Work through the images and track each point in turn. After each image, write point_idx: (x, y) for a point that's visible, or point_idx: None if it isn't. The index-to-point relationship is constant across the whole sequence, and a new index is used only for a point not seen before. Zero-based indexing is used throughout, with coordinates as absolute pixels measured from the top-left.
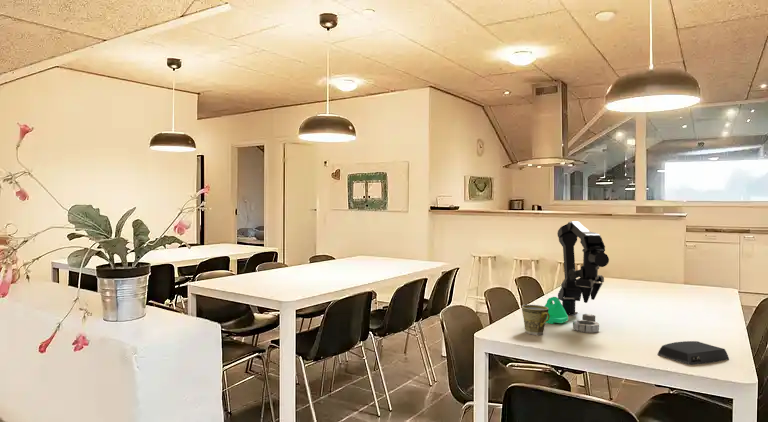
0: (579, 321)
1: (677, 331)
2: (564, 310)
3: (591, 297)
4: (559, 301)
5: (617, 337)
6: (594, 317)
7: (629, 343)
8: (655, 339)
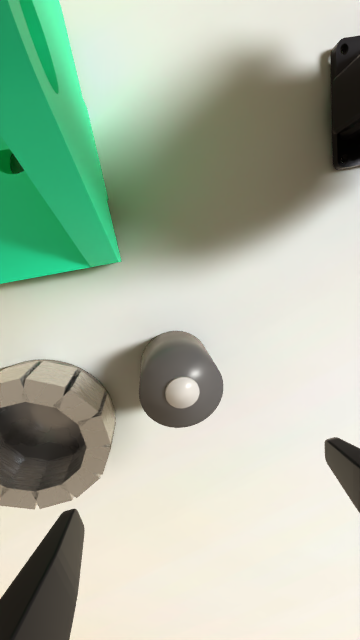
0: (35, 401)
1: (351, 569)
2: (93, 229)
3: (342, 458)
4: (34, 129)
5: None
6: (180, 423)
7: None
8: (170, 602)
